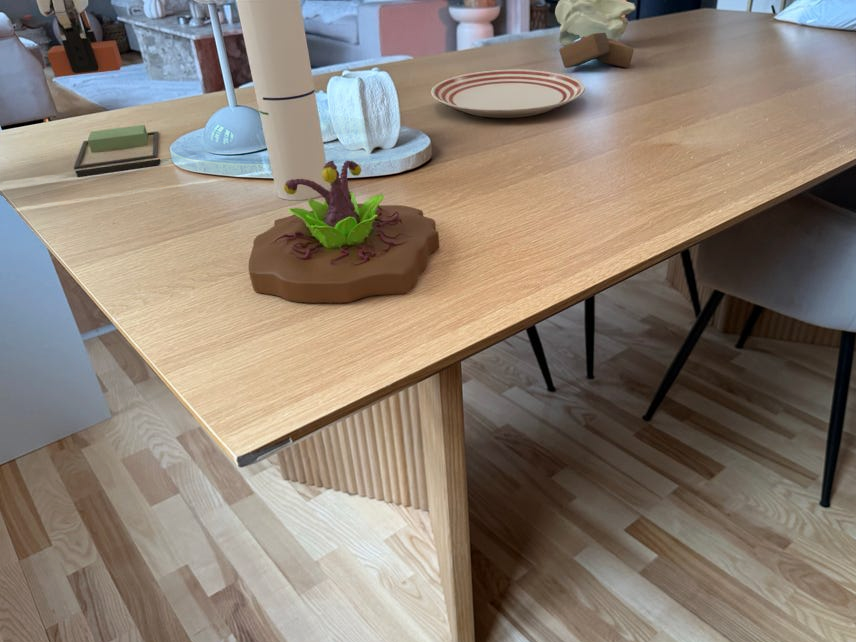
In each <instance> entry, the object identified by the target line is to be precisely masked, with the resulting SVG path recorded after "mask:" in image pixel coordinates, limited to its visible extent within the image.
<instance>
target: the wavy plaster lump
mask: <svg viewBox="0 0 856 642" xmlns="http://www.w3.org/2000/svg"><path fill="white" fill-rule="evenodd" d="M634 11H636V5H635V2H630V1H626V0H558V2H557V4H556V6H555V11H554V15H555V18H556V21H557V23H558V24H559V25H560V26H559V33H558V36H557V39H558V42H559V43H560V45H561V46H562V47H565V46H567V45H569V44H571V43H573V42H576V41H578V40H580V39H582V37H584V36H589V35H591V34H595V33H606V35H607V38H609V39H613V40H616V41H618V42H620V39H621V37H622V36H623V35H624V33H625V31H626V30H627V29H626V28H627V27H628V24H629V20H628V18H627V17H624V16H626V15H629V14H631V13H632V12H634Z"/></svg>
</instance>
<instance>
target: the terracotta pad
mask: <svg viewBox="0 0 856 642" xmlns="http://www.w3.org/2000/svg"><path fill="white" fill-rule="evenodd" d="M91 45H92V48H93V52H94V55H95V58H96V61H97V64H98V67H99V69H98V70H97V71H93V72H83V73H74V72H73V71H72V69H71V66H70V63H69V60H68V57H67V54H66V51H65V49H64V46H63V44H62V45H53V46H52V47H51V48H50V49H49V50H48V51H47V52H46V55H47V58H48V61H49V64H50V66H51V69H52V72H53V75H54V77H55V78H59V77H69V76H79V75H86V74H87V75H88V74H96V73H97V74H99V73H106V72H114V71H116V72H117V71H120V70H121V68H122V65H123V60H122V57H121V53H120V51H119V47H118V43H117V41H116V39H115V40H105V41H104V40H103V41H97V42H93V43H91Z"/></svg>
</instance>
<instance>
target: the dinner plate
mask: <svg viewBox="0 0 856 642" xmlns="http://www.w3.org/2000/svg"><path fill="white" fill-rule="evenodd" d="M585 89H586V88H585V84H584V83H583V82H582V81H580V80H579V79H577V78H575V77H573V76H570V75H566V74H562V73H558V72H552V71H546V70H545V71H544V70H536V69H535V70H534V69H515V68H514V69H494V70H485V71H476V72H471V73H465V74H461V75H456V76H453V77H450V78H445V80H442V81H439V82H437V83H436V84H435V85H434V86H433V87H432V88H431V90H430V94H431V96H432V98H434V99H435V100H436V101H438V102H439V103H441V104H443V105H445V106H447V107H449V108H452V109H454V110H457V111H461V112H463V113H466V114H468V115H472V116H477V117H483V118H493V119H494V118H495V119H497V118H498V119H501V118H502V119H507V118H508V119H509V118H511V119H512V118H523V117H532V116H536V115H540V114H544V113H547V112H549V111H552V110H554V109H557V108H559V107H562V106H564V105H566V104H569V103H570V102H572V101H574V100H576V99H578V98H580V97H581V96H582V95H583V94H584V92H585Z"/></svg>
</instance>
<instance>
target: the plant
mask: <svg viewBox="0 0 856 642" xmlns="http://www.w3.org/2000/svg"><path fill="white" fill-rule="evenodd" d="M340 171H341V173H340V172H339V171H338V167H337V165H336V164H335V162H334V160H329V161H327V163H326V164H325V166H324V169H323V171H322V177H323V179H324V180H325V181H326V182H328V183H330V186H331V188H330V190H329V191H328V190H326V189H325V188H324V187H322V186H321V185H318V184H317V183H315V182H314V181H310V180H306V179H295V180H294V179H291V180H288V181H287V182H286V183H285V185H284V190H285V191H286V192H287V193H288V194H294V193H296V191H297V185H299V184H301V185H306V186H309V187H311V188H312V189H313V190H315V191H317V192H318V193H319V194H321V197H322V198H324V201H323V202H320V201H317V200H314V199H312V198H311V199H307V200H308V202H307V204H308V206H309V207H310V208H311V210H307V209H304V208H299V207H297V208H296V207H294V208H291V207H290V208H289V207H288V211H289V213H291V214H292V215H288V216H285V217H282V218H278V219H275V220H274V222H273V223H274V225H273V226H272V227H271V228H269V229H267V230H266V231H264V232H263V233H261V234H258V235H256V236H255V238H254V239H253V245H252V249H251V252H250V256H249V259H248V274H249V278H250V281H251V286H252V288H253V291H254V292H255V293H259V294H265V295H272V296H277V297H280V298H283V299H284V300H286V301H290V302H297V303H307V304H312V303H316V304H317V303H326V304H327V303H328V304H329V303H332V304H333V303H334V304H336V303H337V304H345V303H351V302H355V301H357V300H361V299H363V298H367V297H372V296H373V297H374V296H382V295H383V296H385V295H407V294H408V293H409V291H410V290H411V289H412V288H415V286H416V285H417V283H418V280H419V277H420V275H421V274H422V273H423V272H424V271H425V270H426V268H427V266H428V262H429V257H430V255H432V253H434V252H435V251H437V250H439V249H440V237H439V231H438V230H437V226H436V221H435V219H433V218H431V217H426V216H424V212H423V210H422V209H420V208H416V207H413V206H408V205H399V204H392V205H389V204H386V205H385V204H382V205H381V203H382V201H383V200H384V194H383V193H380V194H376V195H373V196H371V197H370V198H368V199H367V200H366V201H364V202H363V203H358V202H357V199H356V195H355V193H354V192H353V191H350V190H349V189H350V188H349V182H348V173H349V174H351V175H352V176H355V177H356V176H357V177H358V176H359V175H361V173H362V167H361V166H360V164H358V163H357V162H355V161H353V160H348V159H347V160H346V161H344V162H343V165H342V166H341V170H340ZM348 171H349V172H348Z"/></svg>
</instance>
